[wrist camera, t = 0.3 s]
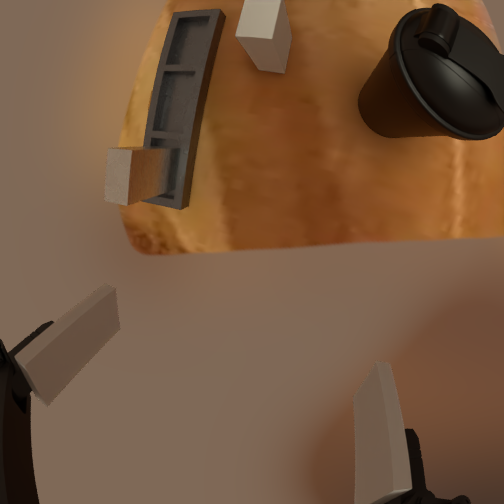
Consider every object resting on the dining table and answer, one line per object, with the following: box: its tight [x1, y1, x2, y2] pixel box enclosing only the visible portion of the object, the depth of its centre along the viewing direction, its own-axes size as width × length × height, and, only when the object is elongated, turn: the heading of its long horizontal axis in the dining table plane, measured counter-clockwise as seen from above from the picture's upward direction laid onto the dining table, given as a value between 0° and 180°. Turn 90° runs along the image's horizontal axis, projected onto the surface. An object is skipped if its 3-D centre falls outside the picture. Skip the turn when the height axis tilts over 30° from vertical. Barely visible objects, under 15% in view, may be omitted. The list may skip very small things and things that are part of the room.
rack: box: [105, 9, 226, 210], centre depth 28 cm, size 30×8×13 cm, turn 169°
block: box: [235, 0, 292, 74], centre depth 23 cm, size 6×4×12 cm, turn 169°
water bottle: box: [358, 3, 504, 140], centre depth 18 cm, size 10×10×23 cm
